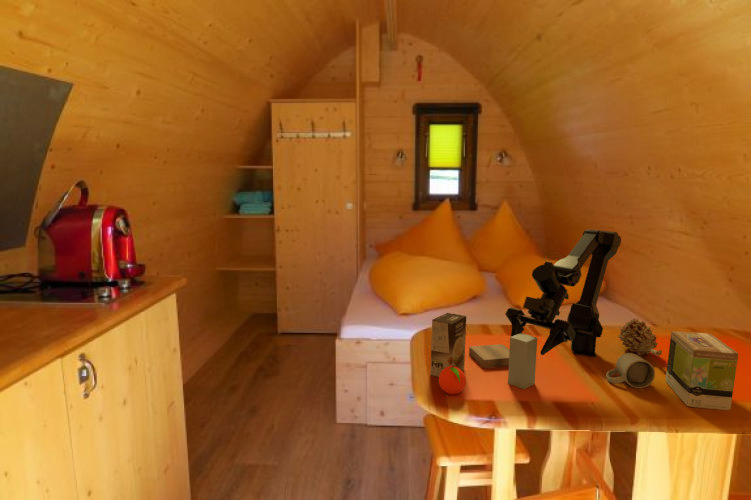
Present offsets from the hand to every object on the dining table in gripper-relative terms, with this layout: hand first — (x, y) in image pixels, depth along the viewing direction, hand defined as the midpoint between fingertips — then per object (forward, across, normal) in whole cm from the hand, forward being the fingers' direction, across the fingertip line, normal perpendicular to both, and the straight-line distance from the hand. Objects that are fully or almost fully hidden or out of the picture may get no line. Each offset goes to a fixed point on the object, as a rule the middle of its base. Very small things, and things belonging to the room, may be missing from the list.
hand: (525, 349), depth 134 cm
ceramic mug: (-8, +18, +22) cm, 30 cm away
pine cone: (-24, +14, +37) cm, 46 cm away
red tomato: (+21, -8, -7) cm, 24 cm away
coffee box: (+14, -18, -1) cm, 23 cm away
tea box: (-12, +33, +25) cm, 44 cm away
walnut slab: (+2, -15, +12) cm, 19 cm away
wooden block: (+8, 0, +6) cm, 9 cm away
